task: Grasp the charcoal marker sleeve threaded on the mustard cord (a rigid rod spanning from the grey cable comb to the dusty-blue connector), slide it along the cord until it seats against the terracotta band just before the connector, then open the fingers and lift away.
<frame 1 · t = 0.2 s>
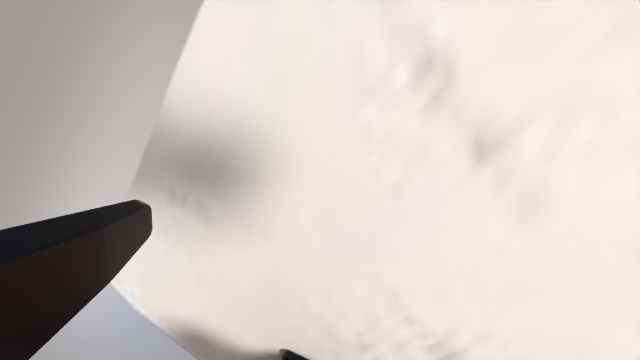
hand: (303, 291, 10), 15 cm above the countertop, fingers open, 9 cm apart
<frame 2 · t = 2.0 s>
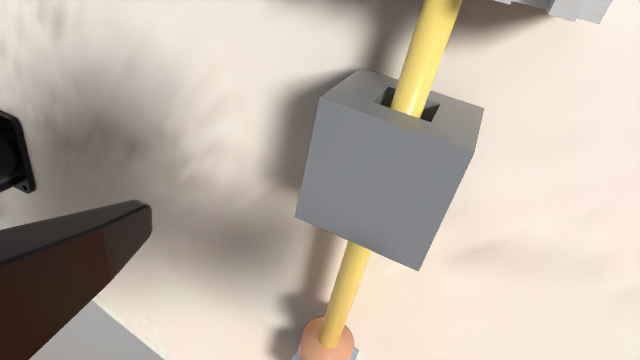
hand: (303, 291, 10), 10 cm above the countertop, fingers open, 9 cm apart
sleeve: (387, 163, 15), point 3 cm above the countertop, slide at 0.0 cm
cord rig: (380, 206, 20), on the countertop
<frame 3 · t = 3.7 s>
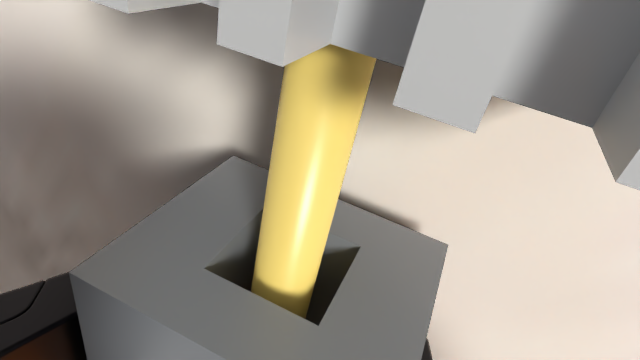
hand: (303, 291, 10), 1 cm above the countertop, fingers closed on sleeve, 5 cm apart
sleeve: (270, 343, 8), point 3 cm above the countertop, slide at 0.0 cm, touching gripper
cord rig: (300, 345, 13), on the countertop
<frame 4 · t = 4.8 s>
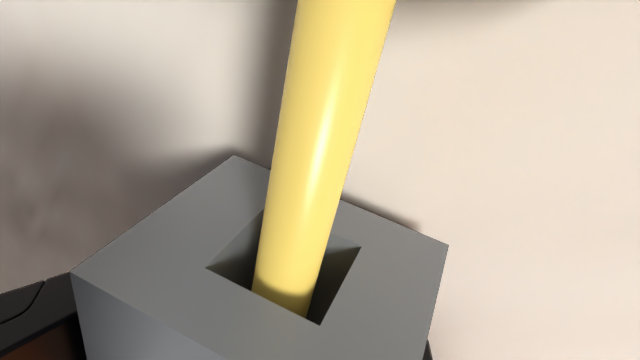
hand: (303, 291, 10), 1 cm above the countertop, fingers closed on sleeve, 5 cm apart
sleeve: (270, 343, 8), point 3 cm above the countertop, slide at 2.1 cm, touching gripper
cord rig: (312, 302, 12), on the countertop
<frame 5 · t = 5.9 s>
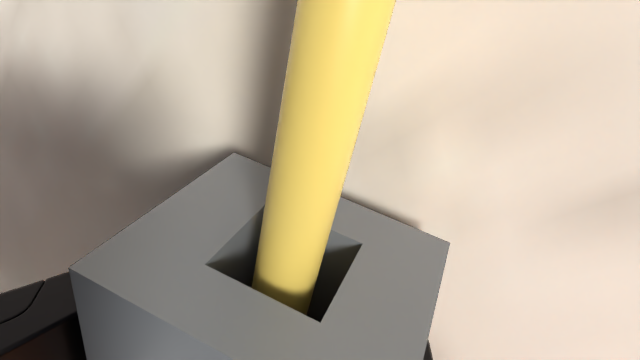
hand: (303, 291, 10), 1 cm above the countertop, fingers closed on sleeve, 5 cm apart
sleeve: (270, 341, 8), point 3 cm above the countertop, slide at 8.6 cm, touching cord rig, gripper
cord rig: (373, 90, 8), on the countertop
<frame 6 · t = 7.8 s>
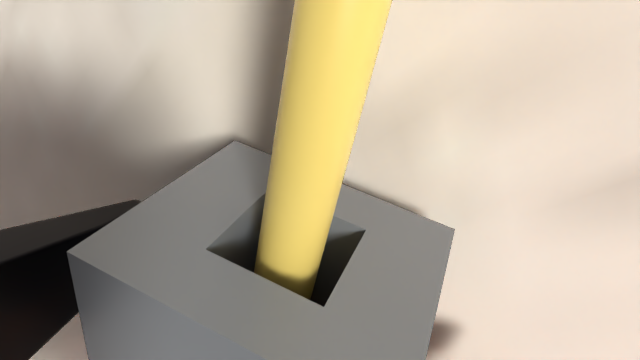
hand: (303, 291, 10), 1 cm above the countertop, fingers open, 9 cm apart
sleeve: (273, 330, 8), point 3 cm above the countertop, slide at 8.6 cm, touching cord rig
cord rig: (376, 75, 8), on the countertop
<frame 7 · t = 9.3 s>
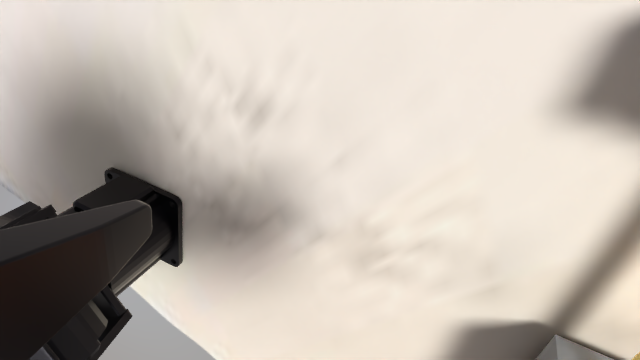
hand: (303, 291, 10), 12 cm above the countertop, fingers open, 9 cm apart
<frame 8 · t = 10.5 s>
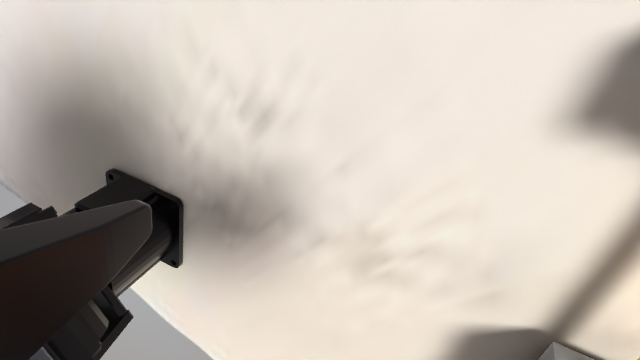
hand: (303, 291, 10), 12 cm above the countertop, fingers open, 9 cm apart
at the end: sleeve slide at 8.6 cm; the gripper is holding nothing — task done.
